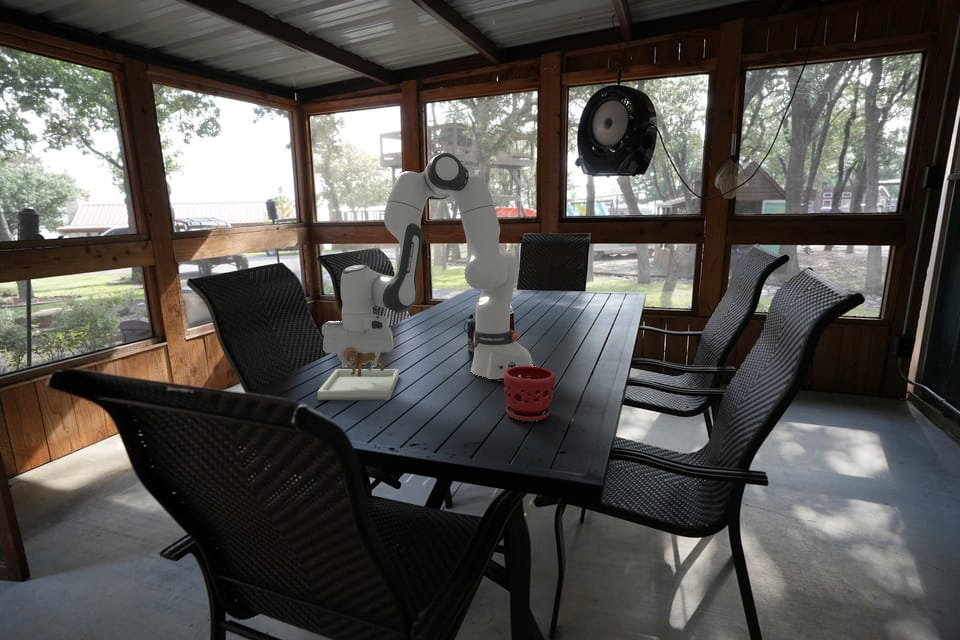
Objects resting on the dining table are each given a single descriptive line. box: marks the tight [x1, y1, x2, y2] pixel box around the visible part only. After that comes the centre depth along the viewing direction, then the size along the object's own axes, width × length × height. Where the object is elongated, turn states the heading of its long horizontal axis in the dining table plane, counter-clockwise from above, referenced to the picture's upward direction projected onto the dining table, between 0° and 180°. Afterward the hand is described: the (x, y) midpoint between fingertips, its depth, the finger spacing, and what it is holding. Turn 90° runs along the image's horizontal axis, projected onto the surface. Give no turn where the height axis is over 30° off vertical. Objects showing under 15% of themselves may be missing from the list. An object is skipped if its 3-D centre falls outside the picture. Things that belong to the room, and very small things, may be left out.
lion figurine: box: [343, 348, 385, 377], centre depth 155 cm, size 15×5×9 cm, turn 142°
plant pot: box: [503, 366, 556, 421], centre depth 134 cm, size 13×13×12 cm
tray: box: [317, 368, 400, 401], centre depth 155 cm, size 20×20×2 cm
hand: (359, 366), depth 154 cm, fingers closed on lion figurine, 7 cm apart
